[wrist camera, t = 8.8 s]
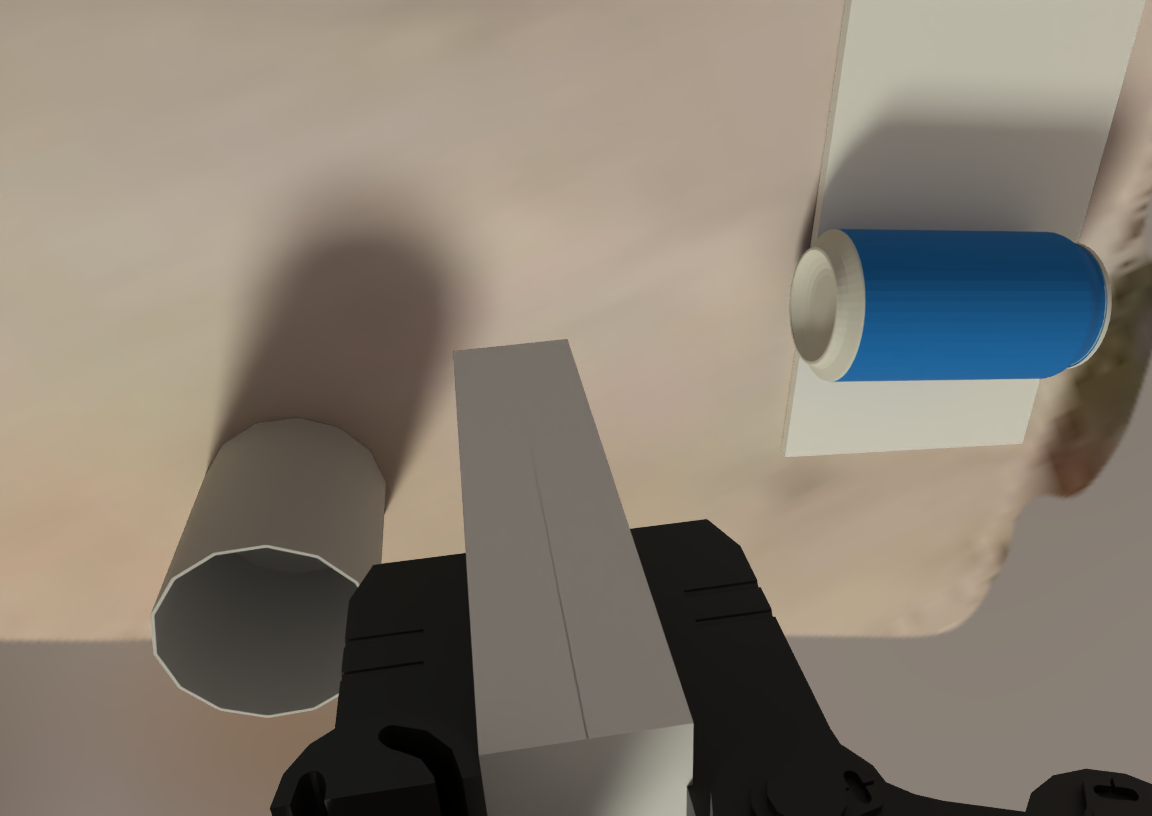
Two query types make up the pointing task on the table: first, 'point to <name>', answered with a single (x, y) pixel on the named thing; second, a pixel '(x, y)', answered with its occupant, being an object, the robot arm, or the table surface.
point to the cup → (271, 569)
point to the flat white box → (957, 176)
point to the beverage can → (947, 305)
